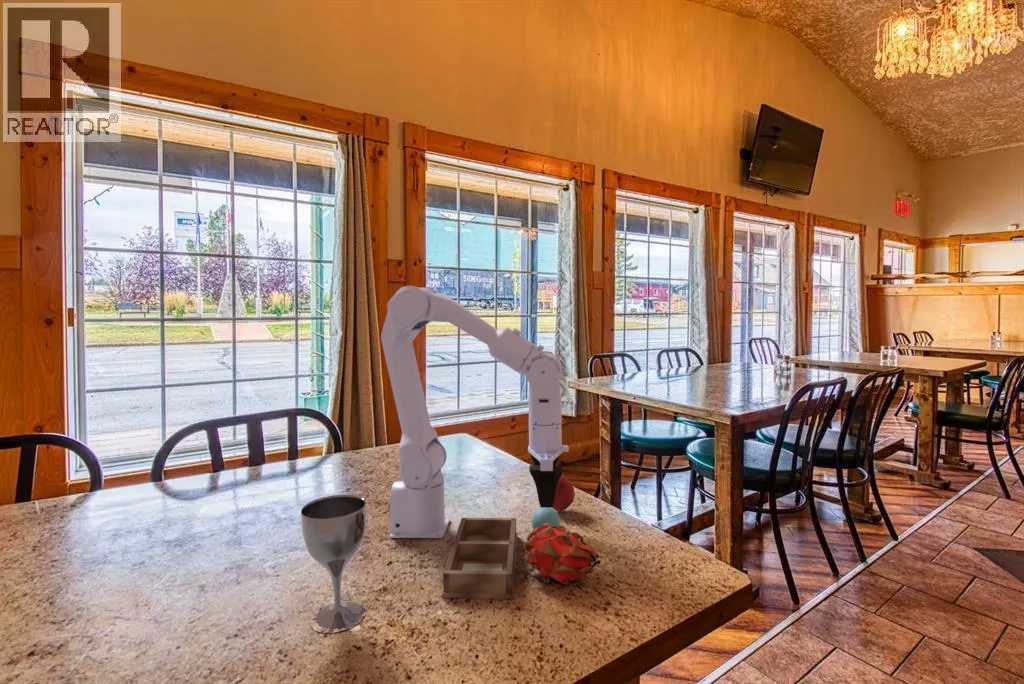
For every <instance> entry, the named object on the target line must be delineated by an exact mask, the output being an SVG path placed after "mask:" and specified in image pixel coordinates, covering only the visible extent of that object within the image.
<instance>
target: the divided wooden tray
mask: <svg viewBox="0 0 1024 684" xmlns="http://www.w3.org/2000/svg"><path fill="white" fill-rule="evenodd" d="M518 535H519V533H518V532H517V518H515V517H513V518H512V517H507V518H506V517H461V519H460V522H459V525H458V528H457V531H456V533H455V538H454V540H453V543H452V545H451V550H450V552H449V555H448V558H447V561H446V564H445V567H444V570H443V573H442V577H443V579H442V581H443V582H442V584H443V589H442V592H441V598H442V599H493V600H494V599H497V600H498V599H499V600H501V599H504V600H505V599H506V600H508V599H509V600H510V599H511V600H512V599H514V595H515V594H514V593H515V591H514V590H515V581H516V579H515V578H516V565H517V563H516V562H517V552H518V551H517V549H518Z"/></svg>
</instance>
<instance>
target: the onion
mask: <svg viewBox="0 0 1024 684" xmlns="http://www.w3.org/2000/svg"><path fill="white" fill-rule="evenodd" d="M575 494H576V493H575V488H574V486H573V484H572V482H571V481H570V480H569V479H568V478H566V477H565V476H564V472H563V473H562V475H561V477H560V479H559V482H558V485H557V488H556V494H555V500H554V504H553V507H552V509H554V510H555V511H556V512H557V513H562V512H564V511H565V510H566V509H568V508H569V507H570V506H572V504H573V502H574V500H575Z"/></svg>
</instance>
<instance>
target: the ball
mask: <svg viewBox="0 0 1024 684" xmlns="http://www.w3.org/2000/svg"><path fill="white" fill-rule="evenodd" d="M558 513H559V512H557V511H556V510H554V509H553V508H541V507H538V508H537V509H536V510H535V511H534V513H533V514H532V517H531V526H532V528H533V529H534V528H535V527H542V525H543V523H549V524H550V525H551V526H552V527H554V526H555V525H558V526H559V525H561V520H560V519H561V518H560V516H559V514H558ZM533 529H532V530H533Z"/></svg>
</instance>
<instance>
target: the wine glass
mask: <svg viewBox="0 0 1024 684" xmlns="http://www.w3.org/2000/svg"><path fill="white" fill-rule="evenodd" d="M366 507H367V506H366V500H365V499H364V498H363V497H362V496H359V495H356V494H334V495H328V496H323V497H320V498H317V499H314V500H312V501H309V502H307V503H306V504H304V506H302V508H301V510H300V523H301V532H302V536H303V541H304V543H305V547H306V550H307V552H308V554H309V556H311V558H312V559H313V560H314V561H315V562H316V563H317V564H319V565H321V566H322V567H323V568H324V569H325V570H326V571H327V572H328V574H329V575H330V578H331V582H332V587H333V595H334V596H333V597H334V602H335V603H332V602H331V603H332V604H329V603H328V604H329V605H327V604H326V605H327V606H325V605H324V606H325V607H323V606H322V607H323V608H322V609H321V610H320V611H319V612H318V614H317V617H316V618H315V619H316V623H318V624H319V626H320V627H321V626H322V627H323V628H324V627H325V628H327V629H328V628H329V629H331V630H332V629H334V628H335V629H336V628H338V629H342V628H344V629H348V628H350V627H352V626H353V628H354V627H356V626H357V625H356V623H358V622H359V620H361V619H362V617H363V616H362V615H363V614H364V612H365V608H366V607H365V608H364V606H365V605H364V604H363V605H364V606H363V605H361V604H362V603H361V602H360V603H358V602H359V601H357V602H356V600H353V601H342V599H341V590H342V589H341V588H342V579H343V573H344V571H345V569H346V567H347V565H348V564H349V562H350V561H352V559H353V558H354V556H356V554H357V553H358V552H359V550H360V548H361V547H362V544H363V542H364V541H363V540H364V536H365V532H366V523H367V508H366ZM355 625H356V626H355ZM348 630H349V629H348Z"/></svg>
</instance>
